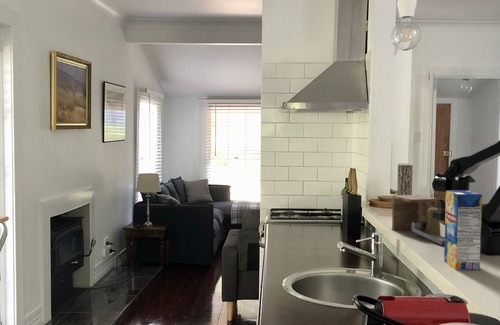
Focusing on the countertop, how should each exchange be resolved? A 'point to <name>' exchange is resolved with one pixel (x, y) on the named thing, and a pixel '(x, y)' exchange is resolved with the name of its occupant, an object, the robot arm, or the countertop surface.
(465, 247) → the beverage box
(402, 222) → the spice cubby
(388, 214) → the countertop surface
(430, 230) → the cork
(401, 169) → the bark textured block
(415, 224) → the grey brown long block
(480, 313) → the countertop surface
